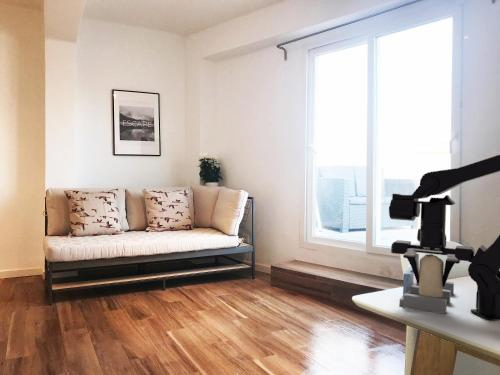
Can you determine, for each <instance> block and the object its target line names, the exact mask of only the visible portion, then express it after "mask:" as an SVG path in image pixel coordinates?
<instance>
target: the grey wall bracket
mask: <svg viewBox="0 0 500 375" xmlns="http://www.w3.org/2000/svg"><path fill="white" fill-rule="evenodd" d="M414 278H415V275H414V272H413V270H412V267H411V266H410V267H409V268H408V269H407V270H405V272H404V273H403V283H402V284H403V285H402V287H403V288H402V296H401V297H400V298H399V306H400V307H402V308H406V309H413V310H417V311H418V310H419V311H424V312H430V313H436V314H444V315H446V313H447V304H450V303H451V296H452V295H454V292H455V291H454V290H455V282H451V281H446V284H445V286H444V287H443V295H442V297H437V298H436V297H427V296H423V295H420V294H419V283H417V282H416V283H414V280H415V279H414ZM450 294H451V295H450Z"/></svg>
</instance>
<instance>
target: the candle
mask: <svg viewBox="0 0 500 375" xmlns="http://www.w3.org/2000/svg"><path fill="white" fill-rule="evenodd" d="M444 263H445V262H444V260H442V259H441V258H440V257H439V256H438V255H435V254H429V253H426V254H424V256H422V258H420V259H419V294H420V295H423V296H427V297H436V298H437V297H442V295H443V275H444V268H445V264H444Z"/></svg>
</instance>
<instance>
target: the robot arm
mask: <svg viewBox="0 0 500 375" xmlns="http://www.w3.org/2000/svg"><path fill="white" fill-rule="evenodd" d="M499 172H500V154H496V155H494V156H491V157H488V158H485V159H484V158H483V159H481V160H478V161H475V162H473V163H470V164H466V165H464V166H460V167H456V168H449V169H442V170H436V171H430V172H426V173H424V174H423V175H422V176H421V178H420V180H419V186H418V187H417V188H416V189H415V190H414V191H413V193H412V194H402V193H392V197H391V200H390V203H389V206H388V216H389V218H390V220H396V221H397V220H398V221H411V222H414V221H415V220H416V218H419V217H420V226H419V227H420V228H418V230H417V235H416V241H417V242H419V244H412V242H411V241H410V240H400V239H396V240H395V241H394V242H392V243H391V247H390V248H391V251H390V253H392V254H396V255H398V254H399V255H403V259H407V261H408V263H409V265H410V267H412V270H413V272H414V278H415V280H416V284H417V283H419V269H420V259H419V258H420V253H422V254H428V255H429V254H433V255H438V256H439V255H441V256H446V257H447V258H446V259H445V262H444V263H445V264H444V268H443V287H444V286H445V284H446V282H448V278H449V276H450V273H451V271H452V269H453V267H454V265H455V264H460V263H461V261H464V262H468V263H469V265H468V268H467V273H468V276H469V277H470V279H471V280H472V281H474V282H475V284H476V287H477V288H476V289H477V290H476V293H475V294H476V296H475V298H476V299H475V308H471V309H470V312H471V313H473V314H475V315H477V316H479V317H481V318H484V319H486V320H489V321H500V234H499V235H498V236H497V238H495V240H494V241H493V243H491V244H490V245H489V246H488V247H486V246H485V245H483V244H481V245H480V246H479V247H478V248H477V250H475V248H474V247H473V246H467V245H456V247H455V248H454V247H453V248H452V247H447V235H446V221H447V220H446V217H447V206H454V205H455V204H456V202H455V201H454V200H453V199H451V197H450V195H448V194H446V195H445V196H444V197H431V196H439V195H442V194H445V193H447V192H448V191H450V190H451V191H452V190H453V189H454V188H457V187H458V186H460V185H462V184H464V183H467V182H470V181H473V180H476V179H480V178H484V177H486V176H490V175H493V174H497V173H499ZM427 198H430V199H429V201H428V200H427V201H425V200H420V199H427ZM475 251H476V252H475Z"/></svg>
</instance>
